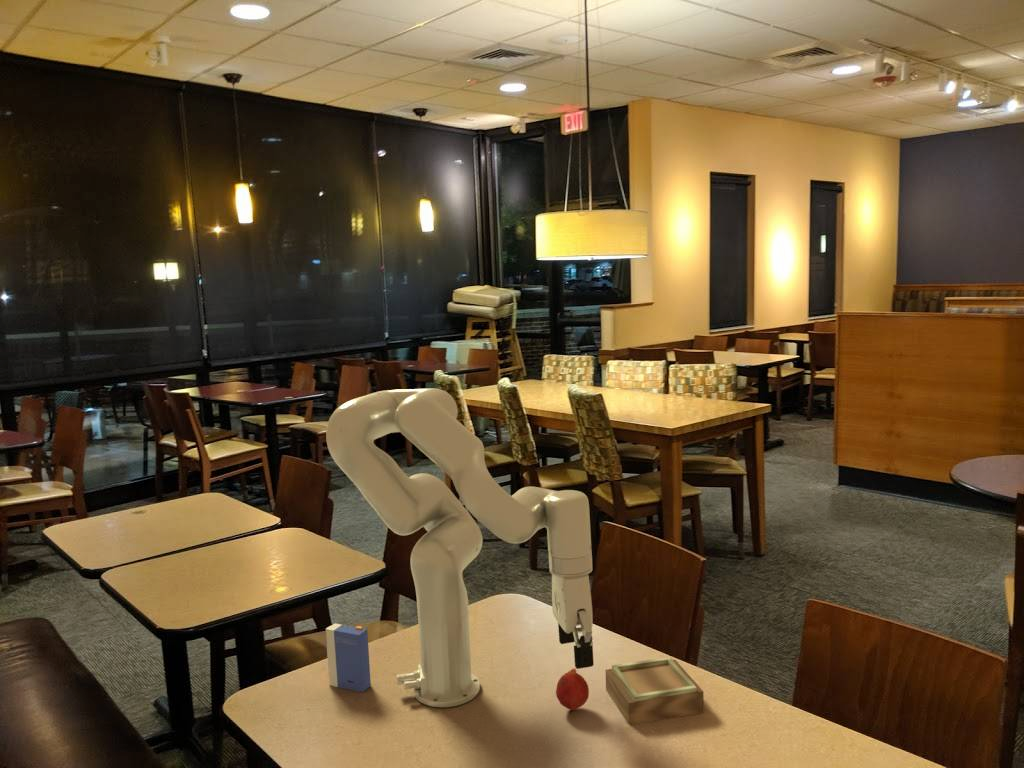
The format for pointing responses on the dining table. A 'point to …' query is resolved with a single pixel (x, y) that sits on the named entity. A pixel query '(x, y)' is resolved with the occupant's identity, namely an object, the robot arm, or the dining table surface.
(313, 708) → the dining table surface
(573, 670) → the onion
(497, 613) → the dining table surface
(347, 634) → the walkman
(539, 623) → the dining table surface
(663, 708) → the plinth
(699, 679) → the dining table surface
